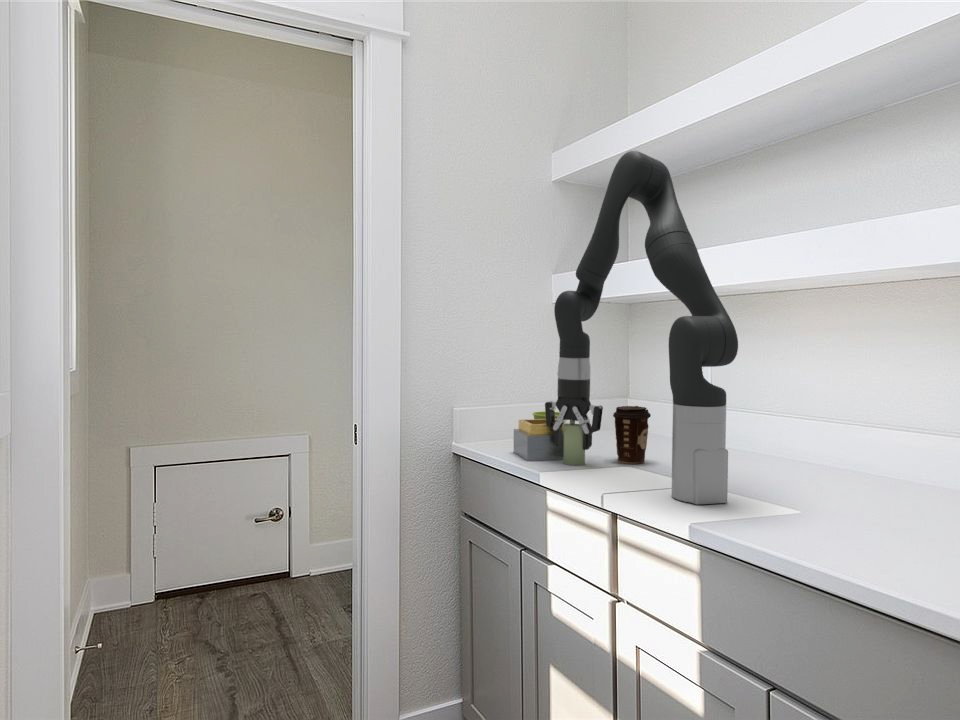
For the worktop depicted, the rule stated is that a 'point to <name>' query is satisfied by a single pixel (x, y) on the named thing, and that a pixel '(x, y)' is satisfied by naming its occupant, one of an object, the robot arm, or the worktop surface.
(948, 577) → the worktop surface
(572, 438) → the spout can
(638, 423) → the coffee cup
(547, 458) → the open square metal box
